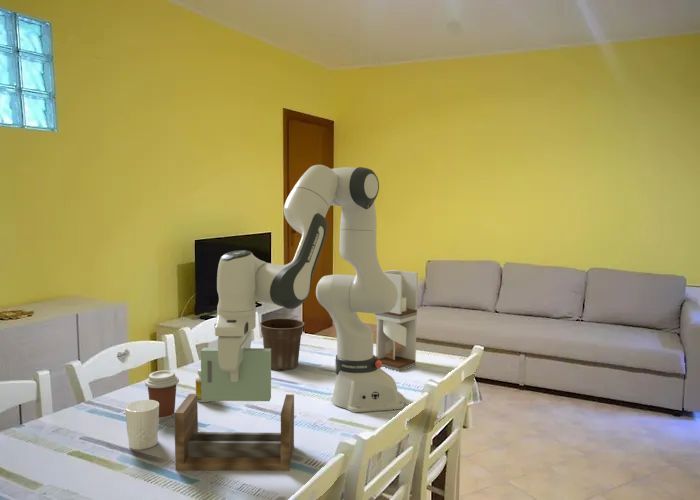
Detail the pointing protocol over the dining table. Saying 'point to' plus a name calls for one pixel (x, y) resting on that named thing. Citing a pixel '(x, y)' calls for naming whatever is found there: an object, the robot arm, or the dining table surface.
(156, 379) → the coffee cup
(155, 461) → the dining table surface
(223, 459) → the wooden book rack
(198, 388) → the supplement bottle
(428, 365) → the dining table surface
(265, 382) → the door panel
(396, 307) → the display case
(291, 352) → the plant pot
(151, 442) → the white cup
